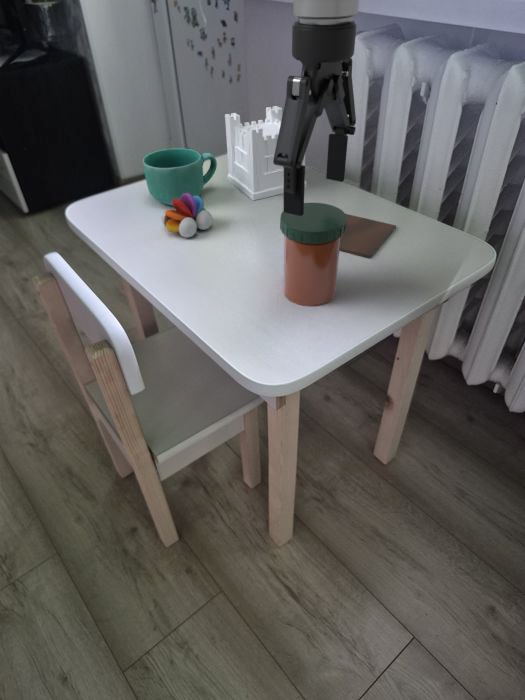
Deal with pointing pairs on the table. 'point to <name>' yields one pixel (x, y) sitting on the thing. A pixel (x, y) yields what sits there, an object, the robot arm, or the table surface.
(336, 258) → the jar
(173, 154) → the mug
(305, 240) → the lid
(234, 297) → the table surface
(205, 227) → the rainbow fan wheeled toy
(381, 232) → the coaster
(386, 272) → the table surface
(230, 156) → the castle model
